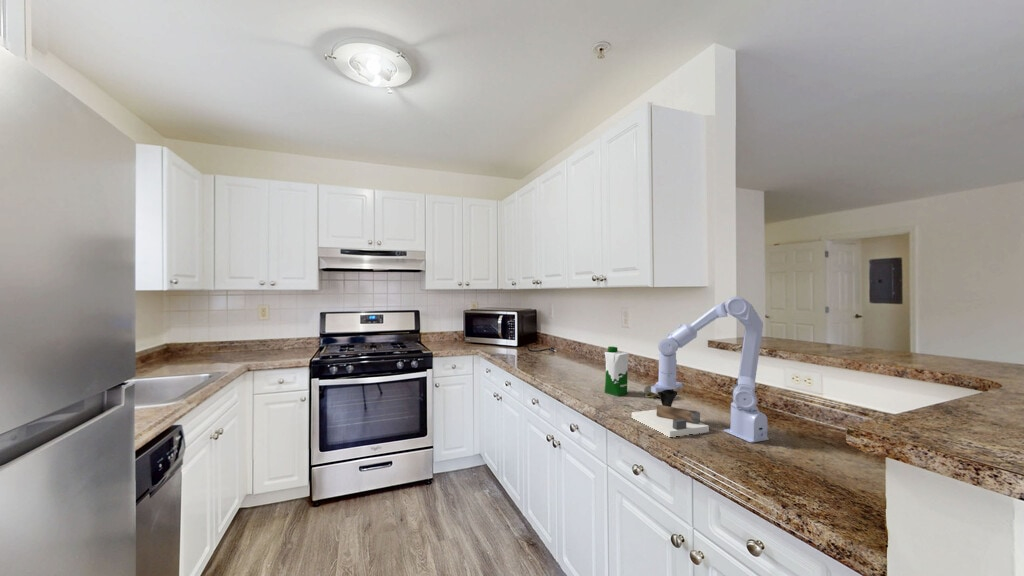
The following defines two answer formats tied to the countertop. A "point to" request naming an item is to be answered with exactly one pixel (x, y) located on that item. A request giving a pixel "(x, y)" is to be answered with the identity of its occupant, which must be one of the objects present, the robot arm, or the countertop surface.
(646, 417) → the stool seat
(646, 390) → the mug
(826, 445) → the countertop surface
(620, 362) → the milk carton
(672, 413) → the folding leg
